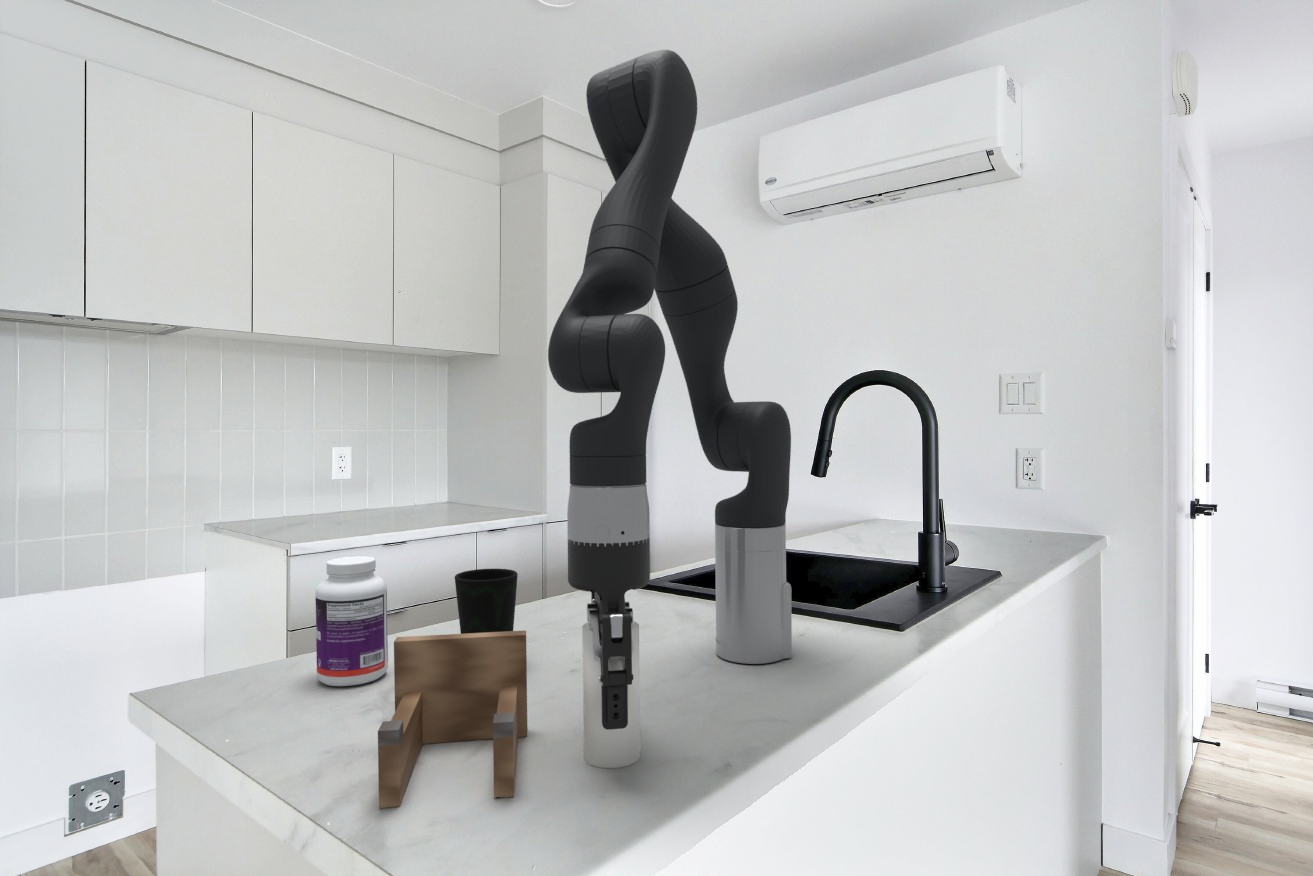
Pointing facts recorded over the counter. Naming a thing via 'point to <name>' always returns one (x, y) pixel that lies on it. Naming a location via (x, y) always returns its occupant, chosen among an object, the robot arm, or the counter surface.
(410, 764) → the holder
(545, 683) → the counter surface
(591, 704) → the roll
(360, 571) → the pill bottle
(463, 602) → the cup
